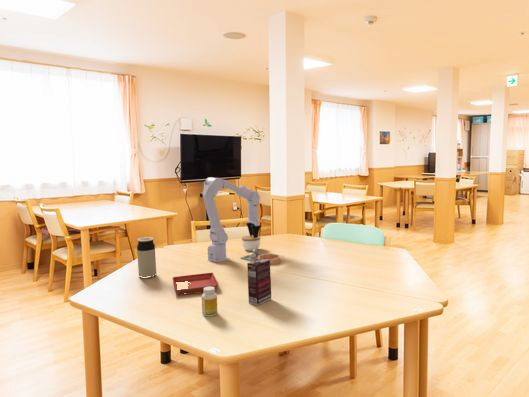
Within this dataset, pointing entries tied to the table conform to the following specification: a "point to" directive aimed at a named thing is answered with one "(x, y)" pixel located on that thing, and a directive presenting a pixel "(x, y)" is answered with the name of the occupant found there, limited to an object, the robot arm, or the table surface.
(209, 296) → the supplement bottle
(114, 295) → the table surface
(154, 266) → the travel mug
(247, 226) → the robot arm
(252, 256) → the pebble grey
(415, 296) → the table surface
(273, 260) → the bowl
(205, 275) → the plant saucer
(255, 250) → the pebble dark
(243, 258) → the tray
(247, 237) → the lidded jar
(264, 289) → the supplement box
